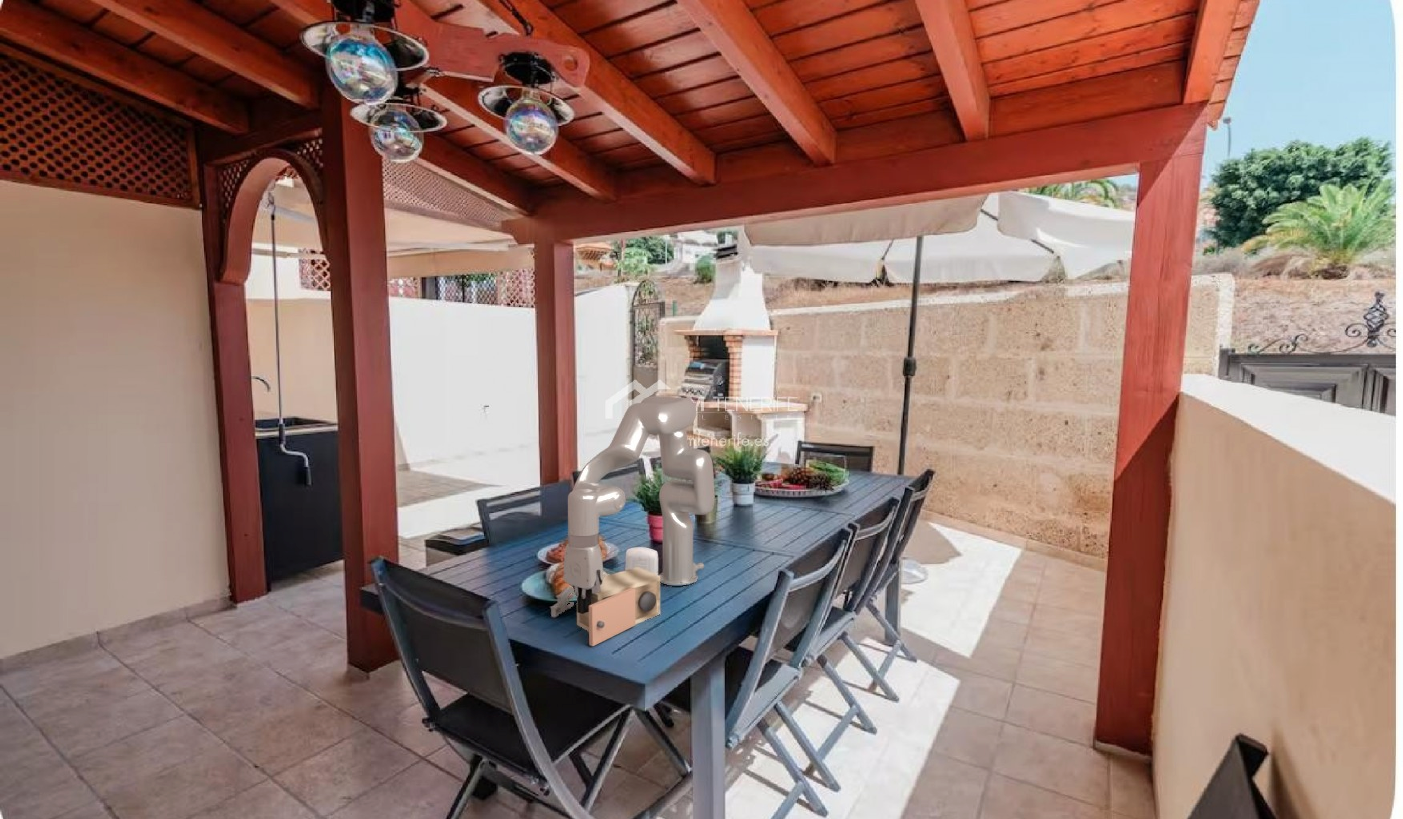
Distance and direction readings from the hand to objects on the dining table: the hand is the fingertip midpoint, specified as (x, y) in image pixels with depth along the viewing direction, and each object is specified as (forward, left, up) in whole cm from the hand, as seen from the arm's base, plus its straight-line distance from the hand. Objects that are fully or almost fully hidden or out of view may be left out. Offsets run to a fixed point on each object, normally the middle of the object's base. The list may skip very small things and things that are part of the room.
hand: (584, 611), depth 157 cm
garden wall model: (-6, -19, -7) cm, 21 cm away
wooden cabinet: (-13, -3, -7) cm, 14 cm away
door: (-6, +5, -6) cm, 10 cm away
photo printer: (-32, -18, -7) cm, 37 cm away
